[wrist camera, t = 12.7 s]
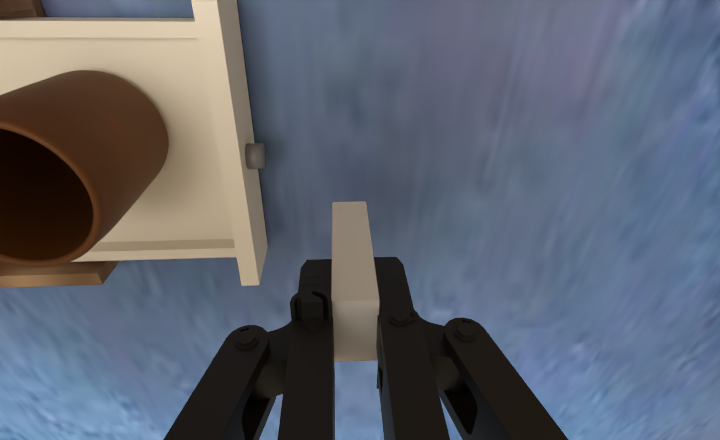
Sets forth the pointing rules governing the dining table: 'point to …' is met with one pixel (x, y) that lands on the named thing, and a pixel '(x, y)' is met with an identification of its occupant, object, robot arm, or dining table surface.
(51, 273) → the frame
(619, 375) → the dining table surface
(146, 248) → the drawer
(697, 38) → the dining table surface
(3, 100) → the mug
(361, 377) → the dining table surface
